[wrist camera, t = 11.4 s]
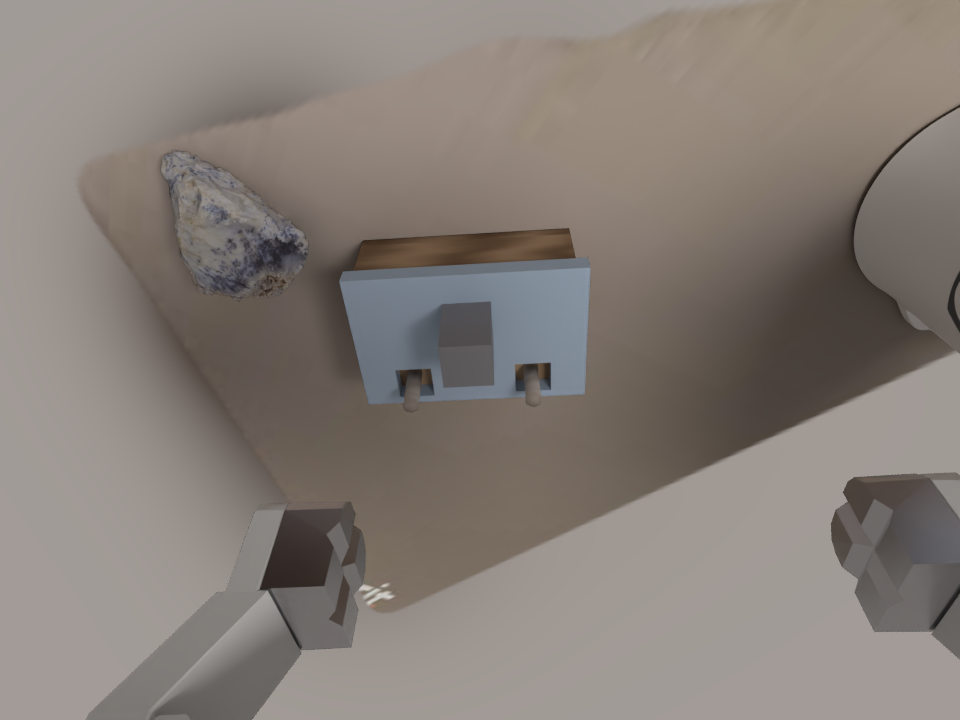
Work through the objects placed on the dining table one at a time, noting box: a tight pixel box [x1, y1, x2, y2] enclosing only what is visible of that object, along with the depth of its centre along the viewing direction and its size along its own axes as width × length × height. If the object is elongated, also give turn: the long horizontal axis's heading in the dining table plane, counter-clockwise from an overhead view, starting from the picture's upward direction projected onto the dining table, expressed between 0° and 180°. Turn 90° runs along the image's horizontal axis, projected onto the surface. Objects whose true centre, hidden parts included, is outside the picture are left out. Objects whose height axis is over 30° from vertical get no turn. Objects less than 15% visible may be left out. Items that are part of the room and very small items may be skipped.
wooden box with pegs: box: [353, 228, 576, 412], centre depth 42 cm, size 14×9×8 cm, turn 94°
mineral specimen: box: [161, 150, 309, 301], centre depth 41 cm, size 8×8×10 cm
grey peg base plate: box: [339, 257, 590, 404], centre depth 39 cm, size 15×10×6 cm, turn 94°
